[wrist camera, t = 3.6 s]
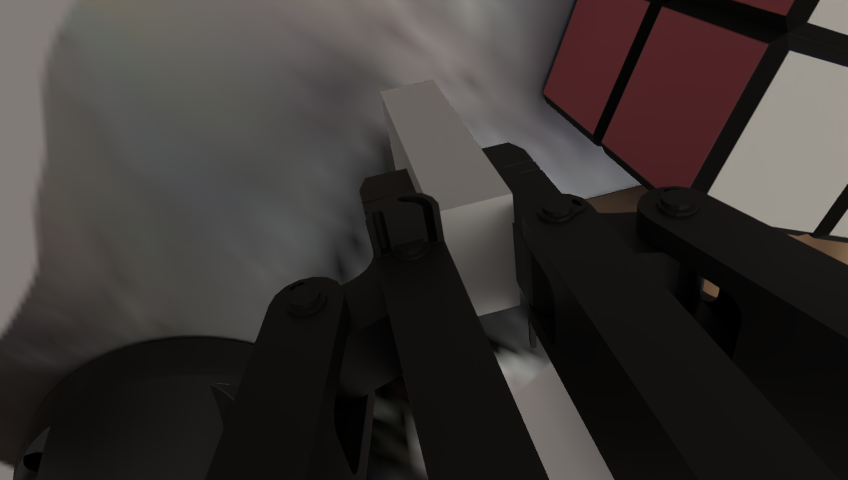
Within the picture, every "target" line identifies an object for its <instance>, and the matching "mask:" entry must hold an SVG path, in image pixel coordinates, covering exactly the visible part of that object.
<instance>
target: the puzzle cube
mask: <svg viewBox="0 0 848 480" xmlns="http://www.w3.org/2000/svg"><path fill="white" fill-rule="evenodd" d="M543 95H544V98H545V100H546V102H547V103H548V104H549V105H550V106H551V107H552V108H554V109H555V110H556V111H557V112H558V113H559V114H561V115H562V116H563V117H564V118H565V119H566V120H568V121H569V122H570V123H571V124H572V125H573V126H575V127H576V128H577V129H578V130H579V131H580V132H581V133H583V134H584V135H585V136H586V137H587V138H588V139H590V140H591V141H592V142H593V143H594V144H595V145H597V146H602V147H603V149H604V152H605V153H606V154H607V155H608V156H609V157H610V158H612V159H613V160H614V161H615V162H616V163H617V164H618V165H620V166H621V167H622V168H623V169H624V170H625V171H627V172H628V173H629V174H630V175H631V176H632V177H634V178H635V179H636V180H637V181H638V182H639V183H641V184H642V185H643V186H644V187H645V188H646V189H647V190H649V191H650V190H653V189H657V188H660V187H667V186H669V187H671V186H680V187H686V188H692V189H695V190H698V191H701V192H703V193H706V194H708V195H710V196H712V197H714V198H716V199H718V200H720V201H722V202H724V203H726V204H728V205H730V206H732V207H734V208H736V209H738V210H740V211H742V212H744V213H746V214H748V215H750V216H752V217H754V218H755V219H757V220H759V221H761V222H763V223H765V224H767V225H769V226H771V227H773V228H775V229H777V230H779V231H781V232H783V233H785V234H788V235H795V236H801V235H805V234H808V235H810V236H811V237H813V238H815V239H822V240H829V241H836V242H843V243H848V0H577V3H576V5H575V8H574V11H573V14H572V16H571V19H570V22H569V24H568V27H567V30H566V32H565V35H564V38H563V40H562V43H561V46H560V48H559V51H558V54H557V57H556V59H555V62H554V65H553V67H552V70H551V73H550V75H549V78H548V81H547V83H546V86H545V89H544V91H543Z"/></svg>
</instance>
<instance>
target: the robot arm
mask: <svg viewBox="0 0 848 480" xmlns="http://www.w3.org/2000/svg"><path fill="white" fill-rule="evenodd" d="M380 95H381V100H382V105H383V110H384V115H385V119H386V124H387V129H388V134H389V139H390V144H391V149H392V153H393V158H394V163H395V168H396V171H393V172H389V173H385V174H381V175H376V176H372V177H368V178H365V180H364V182H363V184H362V186H361V188H360V190H359V191H360V195H361V199H362V203H363V208H364V212H365V216H366V225H367V229H368V233H369V237H370V241H371V244H372V248H373V252H374V256H373V259H372V262H371V264H370V265H369V266H368V268H367V269H366V270H365V271H364V272H363V273H362V274H360V275H359V276H358V277H356V278H354V279H353V280H351V281H349V282H347V283H345V284H343V285H341V286H340V284H339V283H338V282H337V281H335V280H332V279H330V278H327V277H311V278H306V279H302V280H298V281H296V282H294V283H292V284H290V285H288V286H286V287H285V288H284V289H282V290H281V291H280V292H279V293H278V294H276V295H275V297H274V298H273V300H272V301H271V303H270V305H269V307H268V310H267V312H266V315H265V318H264V320H263V323H262V326H261V329H260V331H259V334H258V337H257V339H256V342H255V345H251V344H246V343H241V342H236V341H229V340H220V339H203V338H191V339H173V340H164V341H157V342H151V343H146V344H142V345H137V346H133V347H130V348H126V349H123V350H119V351H117V352H114V353H111V354H108V355H106V356H104V357H101V358H99V359H97V360H95V361H93V362H91V363H89V364H87V365H85V366H83V367H82V368H80V369H78V370H77V371H75V372H74V373H72V374H71V375H69V376H68V377H66V378H65V379H64V380H63V381H62V382H60V383H59V384H58V385H57V386H56V387H55V388H54V389H53V390H52V391H51V392H50V393H49V394H48V396H47V397H46V398H45V399H44V401H43V402H42V403H41V405H40V406H39V408H38V410H37V412H36V414H35V416H34V418H33V421H32V423H31V425H30V427H29V430H28V432H27V434H26V437H25V439H24V441H23V444H22V446H21V448H20V451H19V453H18V456H17V460H16V465H15V469H14V476H13V480H365V479H366V471H367V462H368V454H369V445H370V437H371V429H372V420H373V412H374V404H375V392H374V390H376V389H377V388H379V387H381V386H383V385H384V384H386V383H388V382H389V381H391V380H393V379H395V378H396V377H398V376H400V375H401V374H403V376H404V380H405V384H406V389H407V393H408V397H409V401H410V405H411V409H412V414H413V418H414V422H415V426H416V430H417V434H418V438H419V443H420V447H421V451H422V455H423V459H424V463H425V467H426V472H427V476H428V480H549V478H548V476H547V473H546V471H545V469H544V467H543V464H542V462H541V460H540V458H539V455H538V453H537V451H536V449H535V446H534V444H533V441H532V439H531V437H530V435H529V432H528V430H527V428H526V425H525V423H524V421H523V419H522V416H521V414H520V412H519V410H518V407H517V405H516V403H515V400H514V398H513V396H512V393H511V391H510V389H509V387H508V384H507V382H506V380H505V377H504V375H503V373H502V371H501V368H500V366H499V364H498V361H497V359H496V357H495V355H494V352H493V350H492V348H491V345H490V343H489V341H488V339H487V336H486V334H485V332H484V329H483V327H482V325H481V323H480V320H479V318H478V316H481V315H484V314H488V313H492V312H496V311H499V310H503V309H507V308H511V307H515V306H518V305H520V293H519V286H520V288H521V290H522V291H523V293H524V295H525V297H526V299H527V308H528V325H529V340H530V345H531V348H535V347H536V336H538V338H539V340H540V342H541V344H542V346H543V347H544V349H545V351H546V353H547V355H548V357H549V359H550V360H551V362H552V364H553V366H554V368H555V370H556V372H557V373H558V375H559V377H560V379H561V381H562V383H563V384H564V387H565V388H566V390H567V392H568V394H569V396H570V397H571V399H572V401H573V403H574V405H575V407H576V409H577V411H578V412H579V414H580V416H581V418H582V420H583V422H584V424H585V426H586V428H587V429H588V431H589V433H590V435H591V437H592V439H593V440H594V442H595V444H596V446H597V448H598V450H599V452H600V454H601V455H602V457H603V459H604V461H605V463H606V465H607V467H608V468H609V470H610V472H611V474H612V476H613V478H614V479H615V480H848V265H847V264H845V263H843V262H841V261H839V260H837V259H835V258H833V257H831V256H829V255H827V254H825V253H823V252H821V251H819V250H817V249H815V248H813V247H811V246H809V245H807V244H805V243H803V242H801V241H799V240H797V239H795V238H793V237H791V236H789V235H787V234H785V233H783V232H781V231H779V230H777V229H775V228H773V227H771V226H769V225H767V224H765V223H763V222H761V221H759V220H757V219H755V218H754V217H752V216H750V215H748V214H746V213H744V212H742V211H740V210H738V209H736V208H734V207H732V206H730V205H728V204H726V203H724V202H722V201H720V200H718V199H716V198H714V197H712V196H710V195H708V194H706V193H703V192H701V191H698V190H695V189H692V188H686V187H680V186H671V187H669V186H667V187H660V188H657V189H653V190H650V191H648V192H647V193H645V194H643V195H642V196H641V197H640V199H639V201H638V204H637V212H624V213H598V212H597V210H596V209H595V208H594V207H593V206H592V205H591V204H590V203H589V202H587V201H586V200H584V199H583V198H581V197H578V196H575V195H571V194H562V193H561V192H560V191H559V190H558V189H557V187H556V186H555V185H554V184H553V183H552V182H551V180H550V179H549V178H548V177H547V176H546V175H545V173H544V172H543V171H542V170H540V167H539V166H538V165H537V164H536V163H535V162H533V159H532V158H531V157H530V156H529V154H528V153H527V152H526V151H525V150H524V149H522V148H520V147H518V146H515V145H513V144H511V143H504V144H500V145H496V146H491V147H487V148H483V149H481V148H480V146H479V145H478V144H477V142H476V141H475V139H474V138H473V136H472V135H471V134H470V132H469V131H468V129H467V128H466V126H465V125H464V124H463V122H462V121H461V119H460V118H459V116H458V115H457V114H456V112H455V111H454V109H453V108H452V106H451V105H450V104H449V102H448V101H447V99H446V98H445V96H444V95H443V94H442V92H441V91H440V89H439V88H438V86H437V85H436V84H435V82H434V81H433V80H429V81H424V82H420V83H415V84H411V85H406V86H402V87H398V88H393V89H389V90H384V91H380ZM705 279H706V280H707V281H709V282H711V283H712V284H714V285H715V286H717V287H718V288H719V292H718V296H717V297H713V296H711V295H709V294H708V293H706V292H705V291H703V287H704V281H705Z"/></svg>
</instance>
